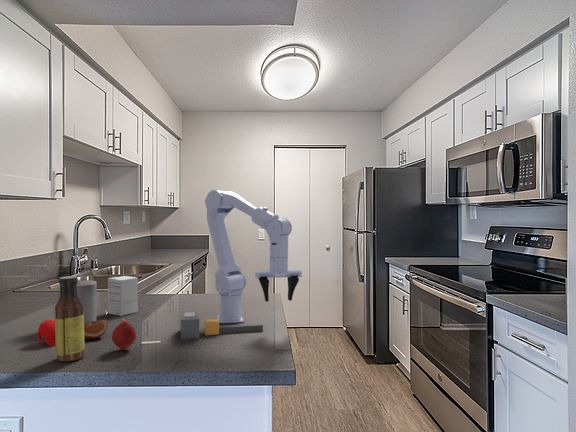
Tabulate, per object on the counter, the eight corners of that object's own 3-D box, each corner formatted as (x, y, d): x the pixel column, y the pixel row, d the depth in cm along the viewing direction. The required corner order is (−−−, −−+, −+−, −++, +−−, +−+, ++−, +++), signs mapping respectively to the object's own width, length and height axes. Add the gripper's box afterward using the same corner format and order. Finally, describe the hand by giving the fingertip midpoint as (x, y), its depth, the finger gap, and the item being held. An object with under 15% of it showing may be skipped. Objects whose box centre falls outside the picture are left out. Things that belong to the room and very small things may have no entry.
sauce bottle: (88, 354, 106) (89, 275, 106) (77, 363, 100) (78, 279, 100) (62, 354, 106) (63, 275, 106) (49, 363, 100) (50, 278, 100)
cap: (31, 329, 116) (32, 322, 112) (54, 319, 120) (55, 312, 116) (44, 354, 114) (45, 348, 110) (67, 343, 118) (69, 337, 114)
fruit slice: (77, 343, 115) (77, 325, 115) (73, 337, 120) (73, 320, 120) (109, 339, 119) (110, 321, 119) (104, 333, 125) (104, 316, 125)
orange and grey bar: (261, 328, 132) (261, 315, 132) (263, 331, 129) (263, 318, 129) (204, 331, 128) (204, 318, 128) (205, 335, 124) (205, 321, 124)
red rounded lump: (128, 345, 114) (128, 315, 114) (140, 349, 110) (140, 319, 110) (107, 350, 109) (108, 319, 109) (119, 355, 106) (119, 323, 106)
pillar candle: (64, 323, 136) (64, 276, 135) (97, 320, 139) (98, 275, 139) (59, 331, 126) (60, 281, 126) (95, 328, 130) (95, 280, 130)
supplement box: (124, 309, 156) (125, 275, 156) (138, 312, 152) (138, 277, 152) (107, 313, 150) (107, 277, 150) (120, 316, 146) (121, 279, 146)
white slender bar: (141, 343, 116) (141, 342, 116) (160, 342, 117) (160, 340, 117) (141, 344, 115) (141, 343, 115) (160, 343, 116) (160, 341, 116)
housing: (180, 330, 129) (180, 310, 129) (197, 329, 131) (197, 310, 131) (181, 340, 119) (181, 319, 119) (199, 338, 120) (199, 318, 120)
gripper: (258, 258, 126) (258, 304, 126) (304, 258, 130) (304, 302, 130) (254, 256, 133) (253, 299, 133) (298, 255, 137) (297, 297, 137)
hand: (278, 300), depth 132 cm, fingers open, 7 cm apart
